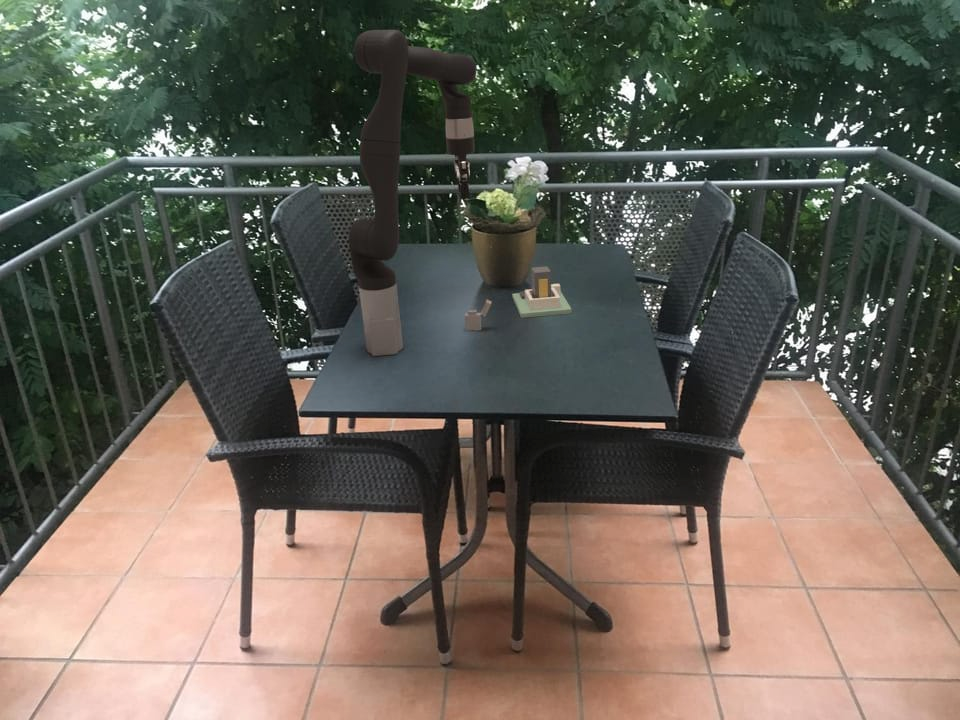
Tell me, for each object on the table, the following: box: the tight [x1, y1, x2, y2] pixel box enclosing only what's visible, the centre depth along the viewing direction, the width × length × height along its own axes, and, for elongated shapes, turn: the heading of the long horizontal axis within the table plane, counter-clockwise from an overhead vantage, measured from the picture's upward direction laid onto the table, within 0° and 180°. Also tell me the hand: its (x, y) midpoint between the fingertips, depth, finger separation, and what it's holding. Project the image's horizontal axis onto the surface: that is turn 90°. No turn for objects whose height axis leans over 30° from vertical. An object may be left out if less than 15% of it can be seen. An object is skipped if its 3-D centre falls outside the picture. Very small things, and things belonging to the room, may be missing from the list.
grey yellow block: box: [531, 266, 552, 299], centre depth 213 cm, size 5×4×10 cm
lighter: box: [464, 299, 492, 332], centre depth 203 cm, size 7×2×8 cm, turn 88°
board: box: [511, 283, 573, 319], centre depth 217 cm, size 16×14×4 cm
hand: (463, 195), depth 214 cm, fingers open, 8 cm apart
